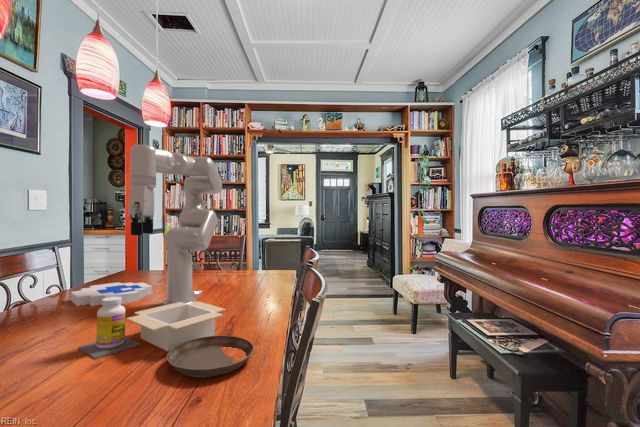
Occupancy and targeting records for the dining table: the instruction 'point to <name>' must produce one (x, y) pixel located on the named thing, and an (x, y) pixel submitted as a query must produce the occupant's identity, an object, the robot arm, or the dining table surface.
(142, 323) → the carton
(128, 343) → the coaster mat
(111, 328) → the supplement bottle
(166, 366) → the dining table surface
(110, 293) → the pixel art tile
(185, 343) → the plant saucer
